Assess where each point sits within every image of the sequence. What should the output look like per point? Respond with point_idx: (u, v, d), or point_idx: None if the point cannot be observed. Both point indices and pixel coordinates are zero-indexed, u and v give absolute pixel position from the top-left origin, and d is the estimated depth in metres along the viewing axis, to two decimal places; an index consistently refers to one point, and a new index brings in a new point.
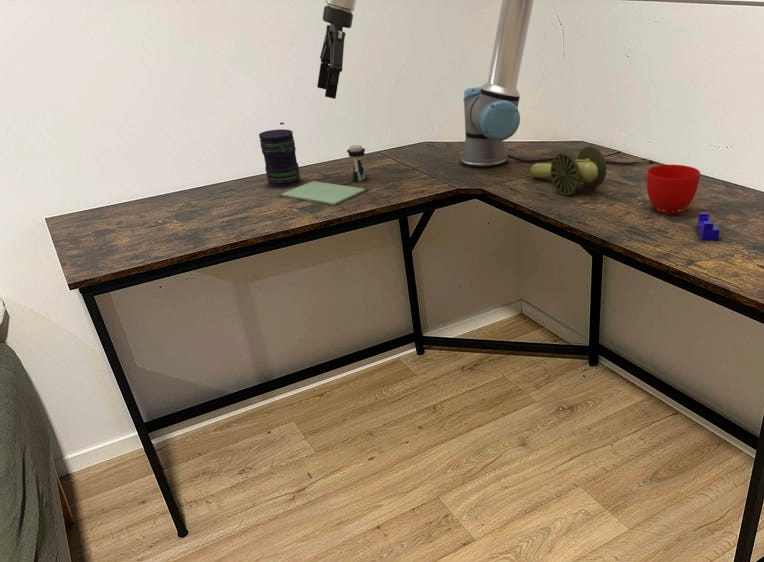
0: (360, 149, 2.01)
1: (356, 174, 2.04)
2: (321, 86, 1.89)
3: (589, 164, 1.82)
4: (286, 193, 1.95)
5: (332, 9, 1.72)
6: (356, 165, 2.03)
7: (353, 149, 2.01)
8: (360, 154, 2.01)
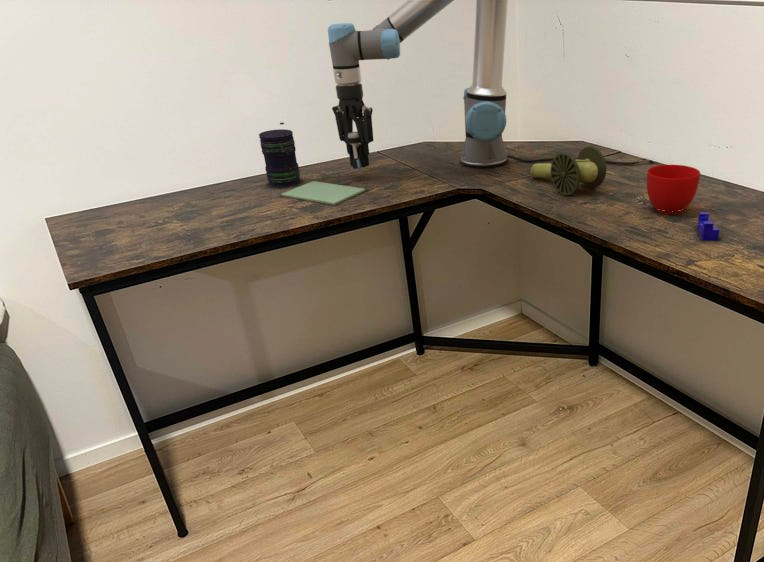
0: (358, 135, 1.99)
1: (355, 161, 2.02)
2: None
3: (589, 164, 1.82)
4: (286, 193, 1.95)
5: (351, 87, 1.91)
6: (355, 152, 2.01)
7: (351, 135, 1.99)
8: (358, 140, 1.99)
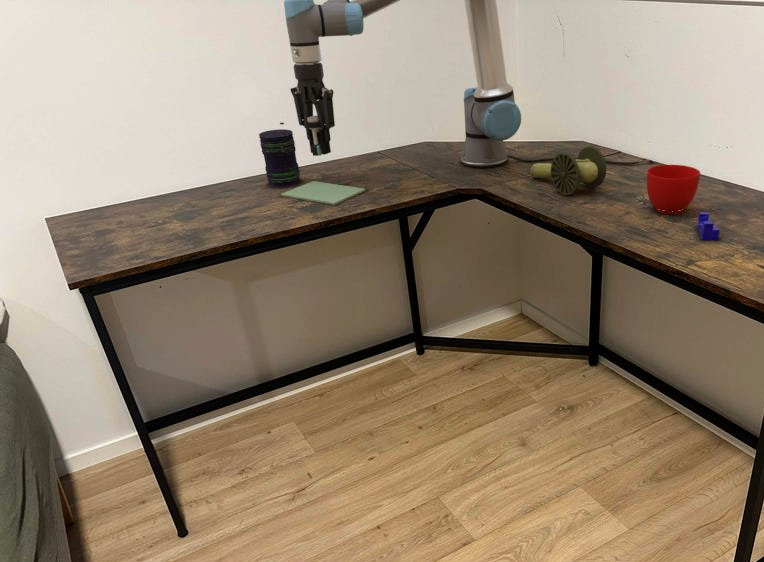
0: None
1: (315, 147, 1.87)
2: None
3: (589, 164, 1.82)
4: (286, 193, 1.95)
5: (310, 66, 1.75)
6: (315, 137, 1.86)
7: (311, 119, 1.83)
8: (319, 125, 1.84)
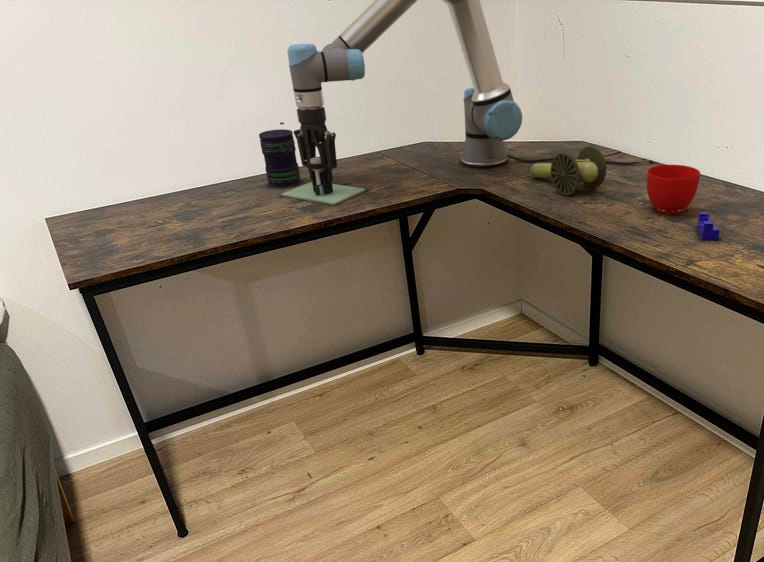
0: None
1: (318, 187, 1.91)
2: None
3: (589, 164, 1.82)
4: (286, 193, 1.95)
5: (313, 111, 1.80)
6: (318, 178, 1.90)
7: (314, 161, 1.88)
8: (321, 166, 1.89)
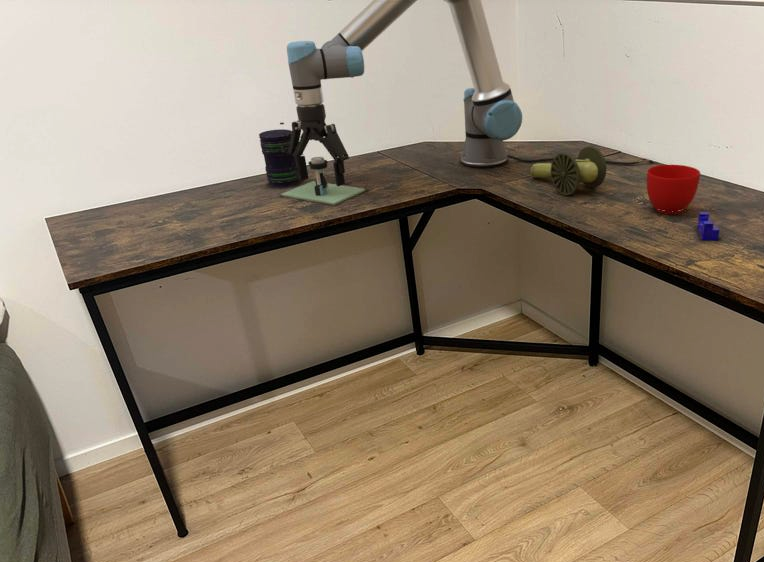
0: (322, 161, 1.89)
1: (318, 188, 1.91)
2: (304, 178, 1.96)
3: (589, 164, 1.82)
4: (286, 193, 1.95)
5: (313, 108, 1.80)
6: (318, 178, 1.90)
7: (314, 161, 1.88)
8: (322, 166, 1.89)
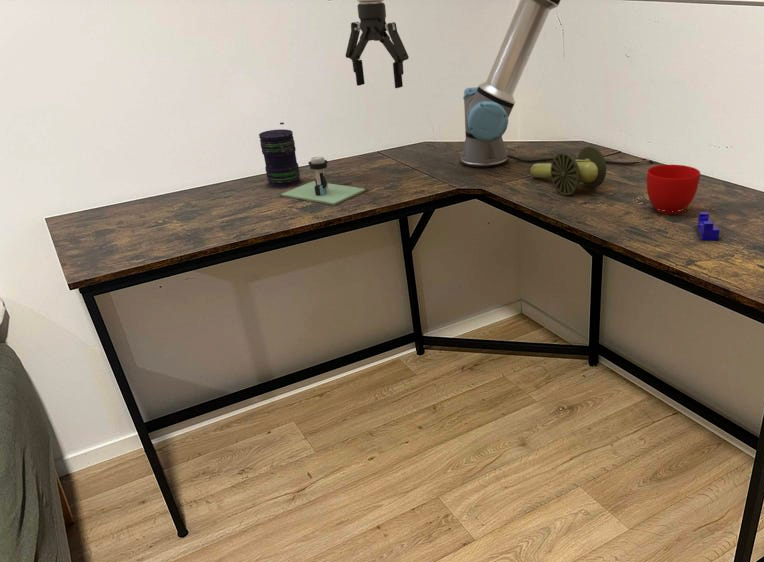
0: (322, 161, 1.89)
1: (318, 188, 1.91)
2: (360, 83, 1.95)
3: (589, 164, 1.82)
4: (286, 193, 1.95)
5: (374, 5, 1.80)
6: (318, 178, 1.90)
7: (314, 161, 1.88)
8: (322, 166, 1.89)
